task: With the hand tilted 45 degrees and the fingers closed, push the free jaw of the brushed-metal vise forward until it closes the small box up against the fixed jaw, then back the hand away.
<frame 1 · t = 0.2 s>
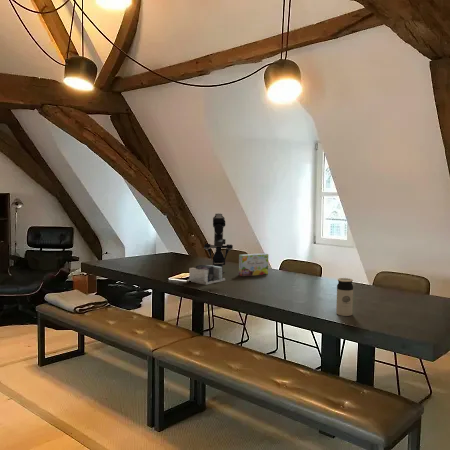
hand: (218, 259, 329), 15 cm above the table, tool pointing down, fingers open, 9 cm apart
travel mug: (344, 314, 254), on the table
snack box: (253, 275, 358), on the table
vise: (206, 280, 335), on the table
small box: (204, 281, 334), resting on vise
free jaw: (213, 272, 340), point 5 cm above the table, slide at 0.0 cm
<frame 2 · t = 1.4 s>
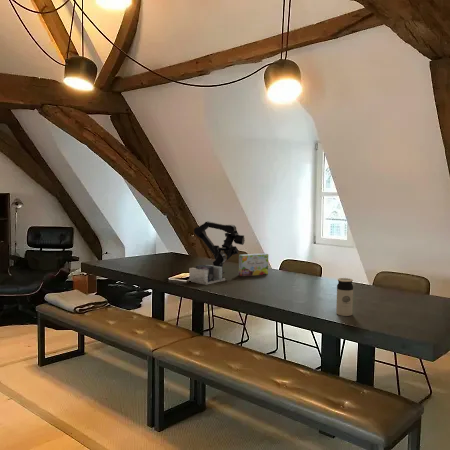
hand: (221, 259, 349), 13 cm above the table, tool tilted 45°, fingers open, 9 cm apart
nothing on the table moved.
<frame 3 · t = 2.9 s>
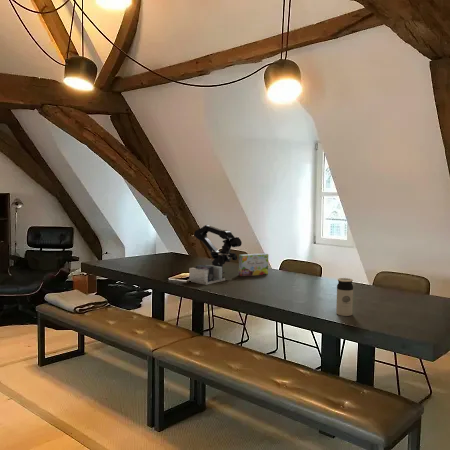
hand: (220, 265, 347), 8 cm above the table, tool tilted 45°, fingers closed
nothing on the table moved.
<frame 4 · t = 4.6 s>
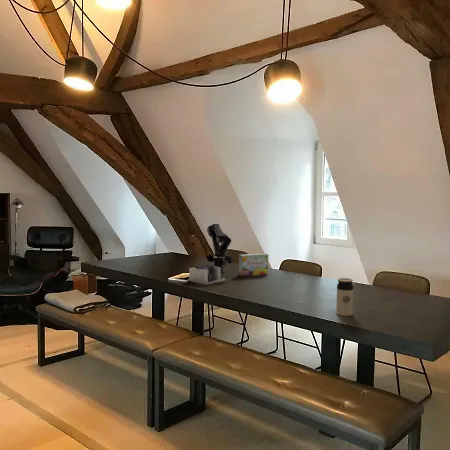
hand: (215, 268, 340), 7 cm above the table, tool tilted 45°, fingers closed
free jaw: (211, 272, 339), point 5 cm above the table, slide at 1.5 cm
everything else where it was.
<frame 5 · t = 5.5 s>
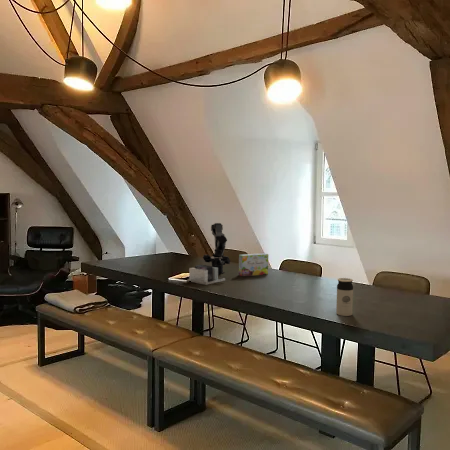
hand: (212, 269, 337), 7 cm above the table, tool tilted 45°, fingers closed, pressing on free jaw
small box: (203, 281, 334), resting on vise, touching free jaw
free jaw: (209, 273, 337), point 5 cm above the table, slide at 4.2 cm, touching gripper, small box
everything else where it was.
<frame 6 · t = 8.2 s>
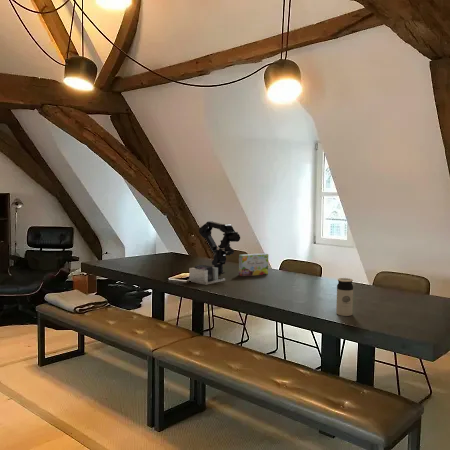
hand: (217, 260, 348), 12 cm above the table, tool tilted 35°, fingers closed
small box: (203, 281, 334), resting on vise
free jaw: (209, 273, 337), point 5 cm above the table, slide at 4.2 cm
everything else where it was.
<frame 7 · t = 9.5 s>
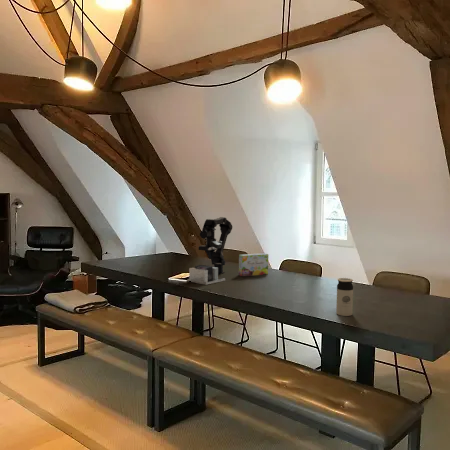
hand: (210, 259, 352), 12 cm above the table, tool pointing down, fingers closed
nothing on the table moved.
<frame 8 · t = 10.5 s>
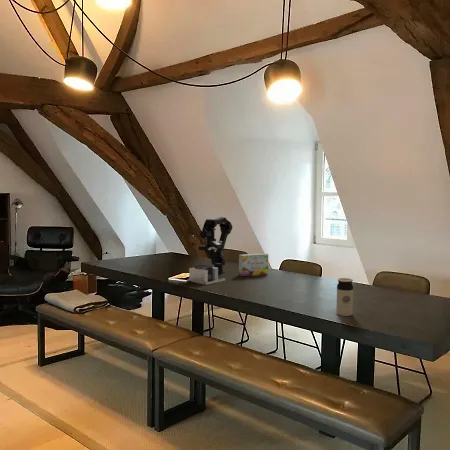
hand: (210, 259, 352), 12 cm above the table, tool pointing down, fingers closed
nothing on the table moved.
at the end: free jaw slide at 4.2 cm; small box 0.3 cm from the target spot on the vise, point 0.0 cm above the vise's base; free jaw 5.3 cm from the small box (horizontally) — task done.
